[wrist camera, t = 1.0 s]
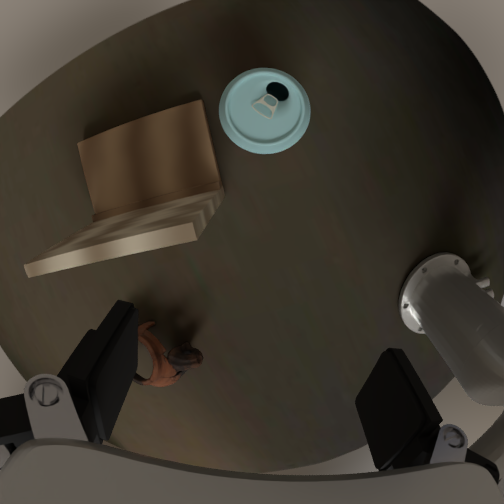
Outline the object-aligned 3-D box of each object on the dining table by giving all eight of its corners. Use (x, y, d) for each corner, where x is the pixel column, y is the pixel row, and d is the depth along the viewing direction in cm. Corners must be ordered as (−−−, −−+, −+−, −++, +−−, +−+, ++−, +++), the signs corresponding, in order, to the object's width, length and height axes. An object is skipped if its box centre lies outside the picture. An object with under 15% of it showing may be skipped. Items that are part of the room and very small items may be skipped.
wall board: (203, 101, 31) (157, 70, 16) (225, 196, 34) (197, 240, 19) (83, 142, 32) (-8, 154, 17) (105, 225, 36) (28, 277, 21)
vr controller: (161, 376, 45) (125, 392, 38) (147, 320, 46) (108, 328, 39) (223, 374, 40) (190, 395, 33) (208, 309, 42) (170, 319, 34)
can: (230, 90, 30) (214, 64, 19) (294, 89, 30) (312, 62, 19) (232, 151, 33) (217, 156, 21) (296, 150, 32) (315, 154, 21)
